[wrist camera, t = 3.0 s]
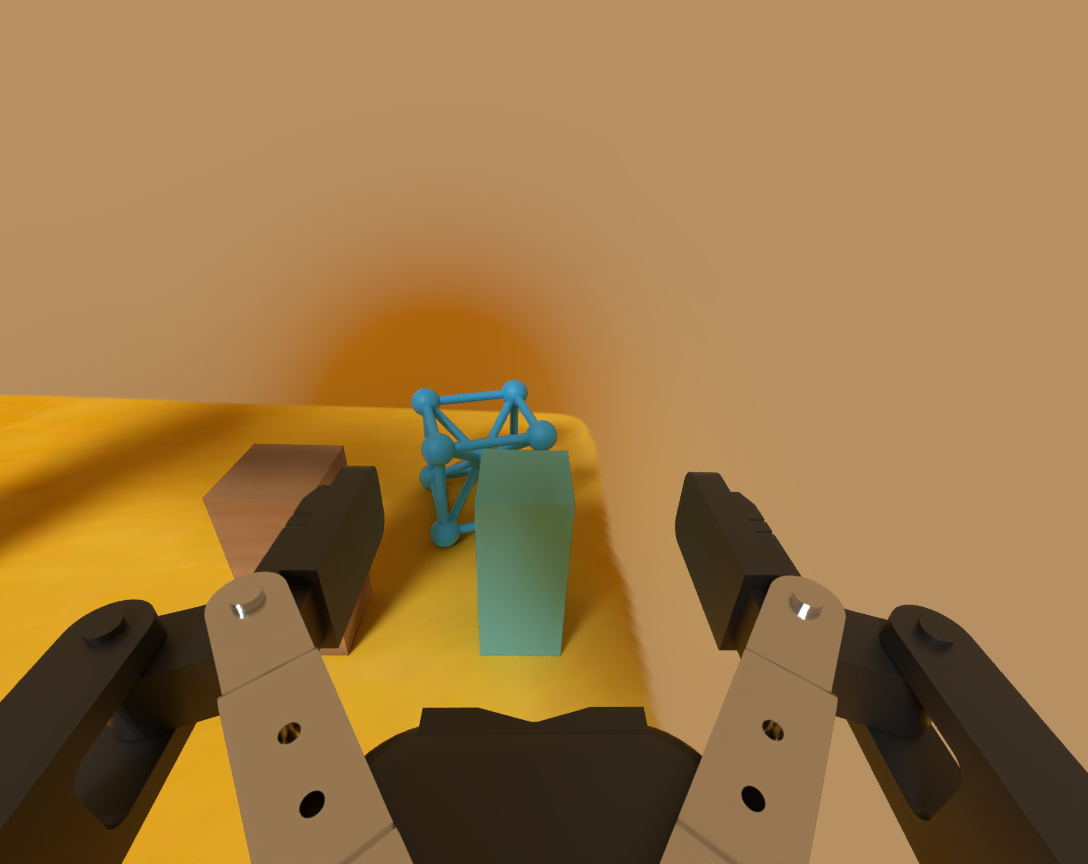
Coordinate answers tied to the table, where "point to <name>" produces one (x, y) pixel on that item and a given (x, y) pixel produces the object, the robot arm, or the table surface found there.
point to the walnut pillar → (273, 507)
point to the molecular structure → (469, 449)
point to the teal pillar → (523, 550)
